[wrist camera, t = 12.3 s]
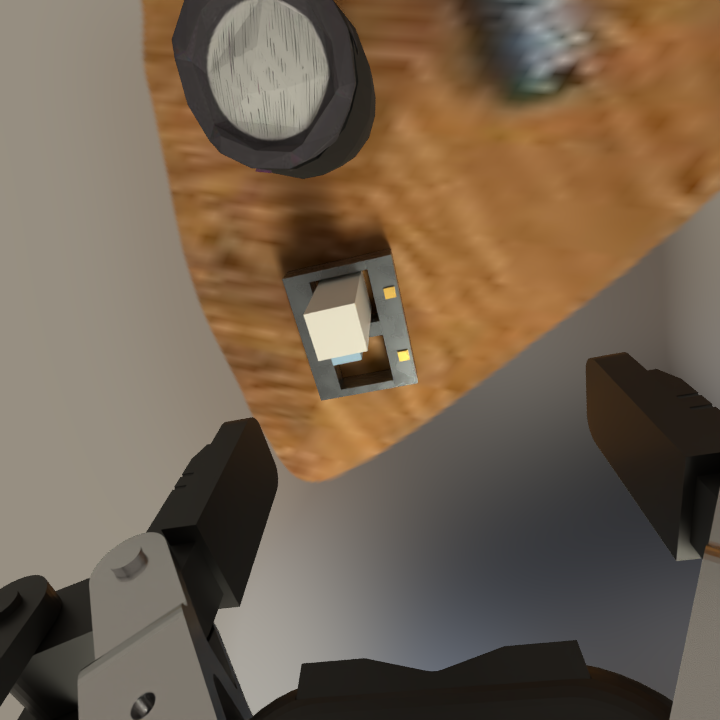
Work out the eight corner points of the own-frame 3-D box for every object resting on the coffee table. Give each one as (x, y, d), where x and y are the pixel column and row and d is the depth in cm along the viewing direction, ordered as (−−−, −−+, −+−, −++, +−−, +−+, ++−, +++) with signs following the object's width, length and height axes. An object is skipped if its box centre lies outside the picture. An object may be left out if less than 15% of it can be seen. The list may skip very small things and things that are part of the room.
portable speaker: (331, 187, 39) (283, 226, 21) (246, 103, 36) (113, 68, 19) (402, 106, 36) (413, 72, 18) (314, 7, 33) (231, -141, 16)
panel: (287, 272, 42) (281, 279, 40) (391, 248, 41) (391, 255, 38) (324, 388, 48) (321, 401, 45) (416, 371, 46) (418, 384, 44)
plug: (321, 278, 42) (303, 314, 34) (361, 268, 42) (354, 303, 33) (335, 326, 45) (322, 373, 36) (374, 318, 44) (370, 363, 35)
